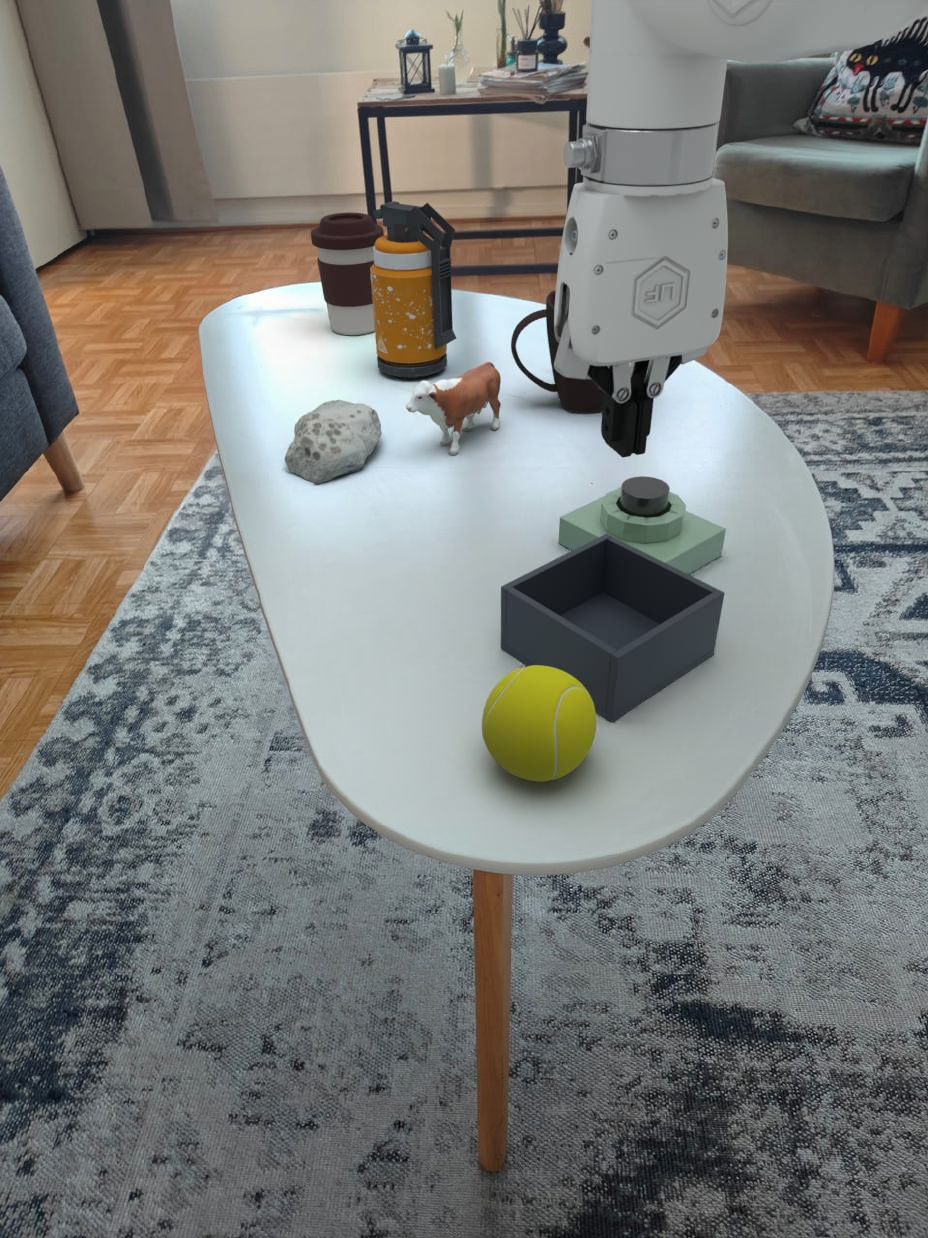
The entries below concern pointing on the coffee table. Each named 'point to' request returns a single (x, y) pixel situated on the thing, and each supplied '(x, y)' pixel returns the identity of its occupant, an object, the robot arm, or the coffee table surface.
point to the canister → (412, 291)
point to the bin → (611, 622)
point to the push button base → (647, 531)
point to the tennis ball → (539, 723)
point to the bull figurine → (458, 401)
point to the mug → (570, 391)
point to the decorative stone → (333, 440)
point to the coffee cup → (347, 269)
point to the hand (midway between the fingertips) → (624, 447)
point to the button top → (644, 497)
